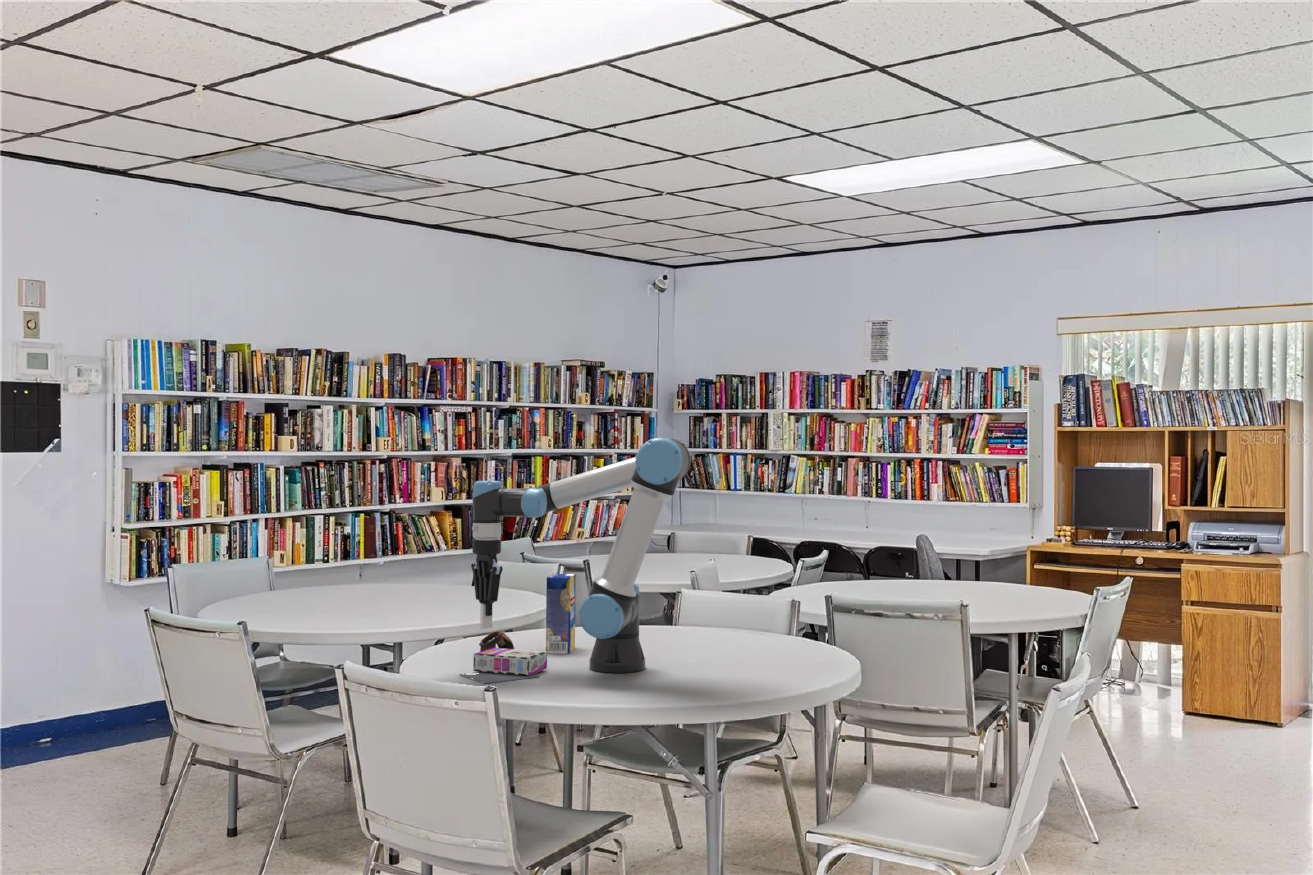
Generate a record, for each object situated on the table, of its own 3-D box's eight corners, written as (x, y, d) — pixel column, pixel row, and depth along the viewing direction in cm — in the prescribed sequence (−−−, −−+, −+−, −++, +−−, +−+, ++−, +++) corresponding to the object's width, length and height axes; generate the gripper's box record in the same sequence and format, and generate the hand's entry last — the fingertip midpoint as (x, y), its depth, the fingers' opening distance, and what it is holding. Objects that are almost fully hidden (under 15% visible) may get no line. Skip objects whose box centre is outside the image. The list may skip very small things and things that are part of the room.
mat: (540, 677, 294) (540, 675, 294) (485, 684, 284) (485, 683, 284) (512, 668, 305) (512, 667, 305) (459, 675, 295) (459, 674, 295)
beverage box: (574, 647, 340) (575, 574, 341) (569, 653, 329) (569, 577, 330) (552, 647, 341) (553, 573, 341) (545, 653, 330) (546, 577, 330)
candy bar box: (472, 672, 299) (528, 676, 293) (472, 653, 299) (528, 657, 293) (494, 665, 309) (548, 669, 303) (494, 647, 309) (548, 650, 303)
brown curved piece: (515, 661, 320) (501, 637, 318) (486, 675, 321) (472, 650, 319) (521, 643, 331) (508, 620, 330) (493, 657, 333) (480, 633, 331)
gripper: (462, 538, 304) (462, 626, 304) (486, 540, 294) (485, 632, 293) (487, 536, 309) (486, 623, 308) (511, 539, 298) (511, 629, 298)
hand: (486, 627), depth 301 cm, fingers closed
